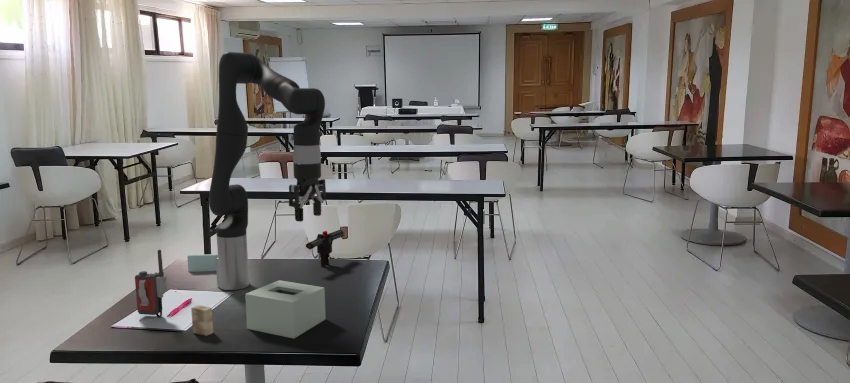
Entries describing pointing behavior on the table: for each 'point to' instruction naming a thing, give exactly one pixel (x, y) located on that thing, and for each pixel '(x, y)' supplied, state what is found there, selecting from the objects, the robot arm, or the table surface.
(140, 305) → the walkie-talkie
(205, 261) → the right angle wall
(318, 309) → the box
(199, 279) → the table surface
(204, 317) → the light brown upright block
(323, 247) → the black tube on stand
